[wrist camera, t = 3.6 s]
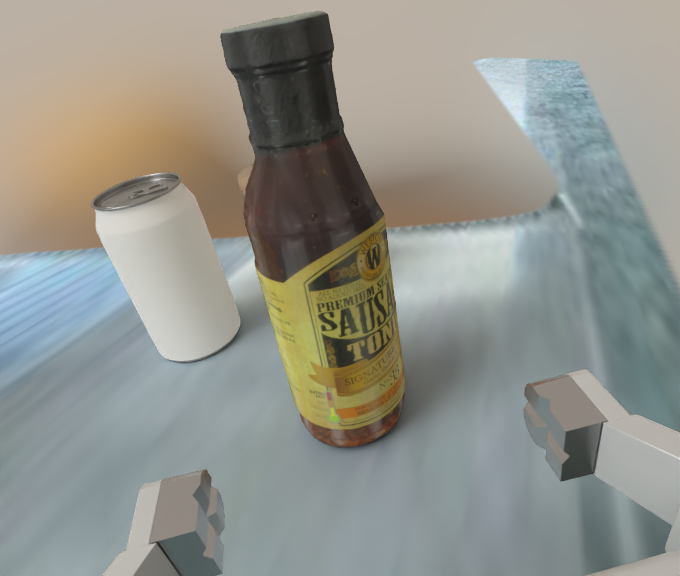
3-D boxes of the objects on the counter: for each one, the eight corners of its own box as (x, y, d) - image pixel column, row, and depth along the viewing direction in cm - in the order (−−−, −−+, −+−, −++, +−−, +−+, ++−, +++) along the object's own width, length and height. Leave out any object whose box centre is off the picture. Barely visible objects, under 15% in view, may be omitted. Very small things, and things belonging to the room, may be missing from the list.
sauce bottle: (364, 474, 24) (253, 31, 13) (279, 424, 28) (139, 48, 17) (432, 390, 28) (388, -7, 17) (349, 355, 31) (270, 14, 21)
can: (155, 331, 38) (84, 191, 32) (232, 301, 40) (180, 162, 33) (163, 378, 33) (81, 222, 27) (252, 341, 35) (194, 186, 28)
